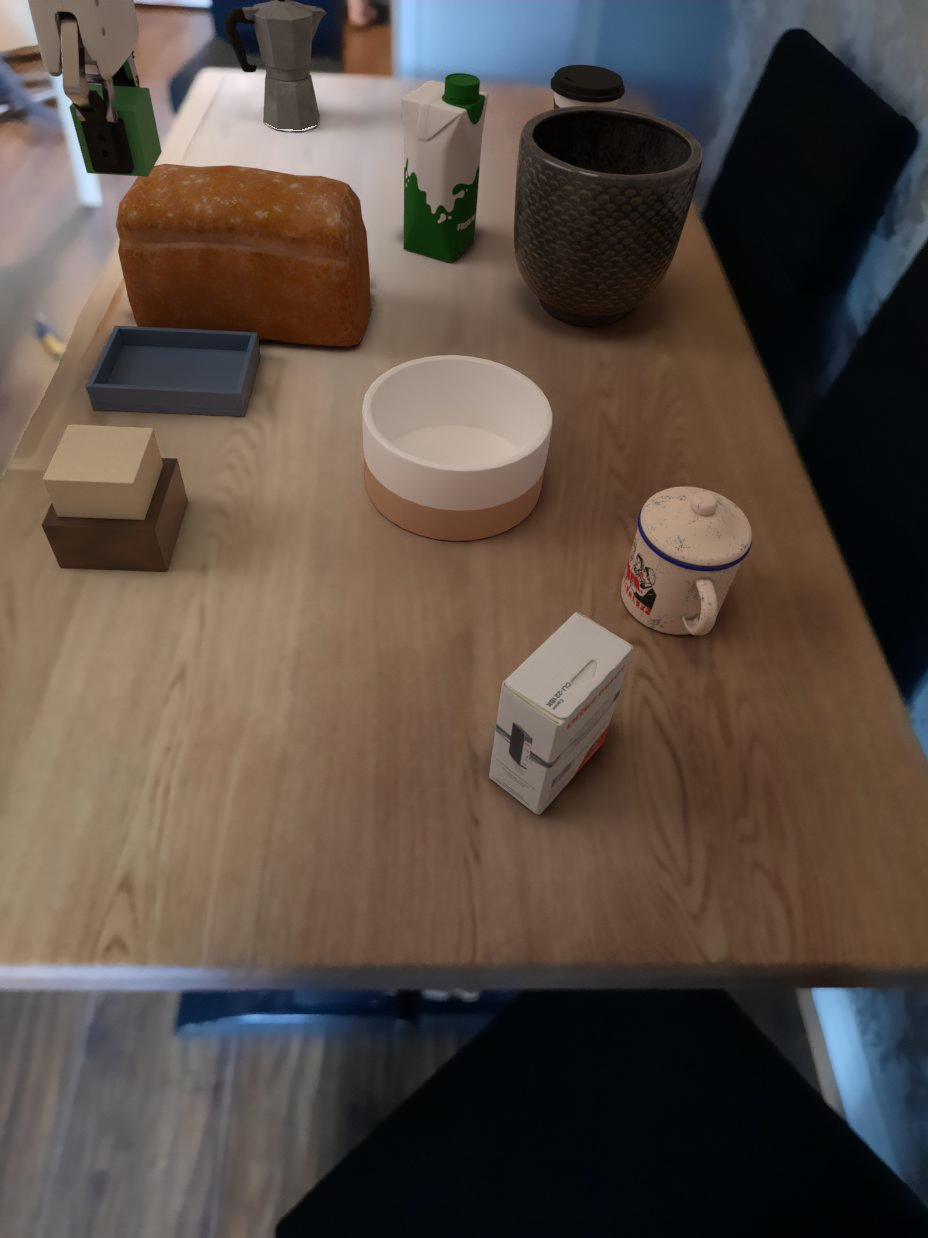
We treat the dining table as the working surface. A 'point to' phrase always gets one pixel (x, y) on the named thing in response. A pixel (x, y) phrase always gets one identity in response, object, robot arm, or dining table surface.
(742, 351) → the dining table surface
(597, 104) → the coffee cup
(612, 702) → the ink box
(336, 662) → the dining table surface
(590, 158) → the planter
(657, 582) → the teacup with lid
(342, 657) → the dining table surface
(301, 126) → the coffeepot
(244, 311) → the bread
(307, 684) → the dining table surface
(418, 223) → the milk carton
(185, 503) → the walnut block
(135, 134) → the green block
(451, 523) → the bowl
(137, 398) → the tray
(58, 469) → the cream block
